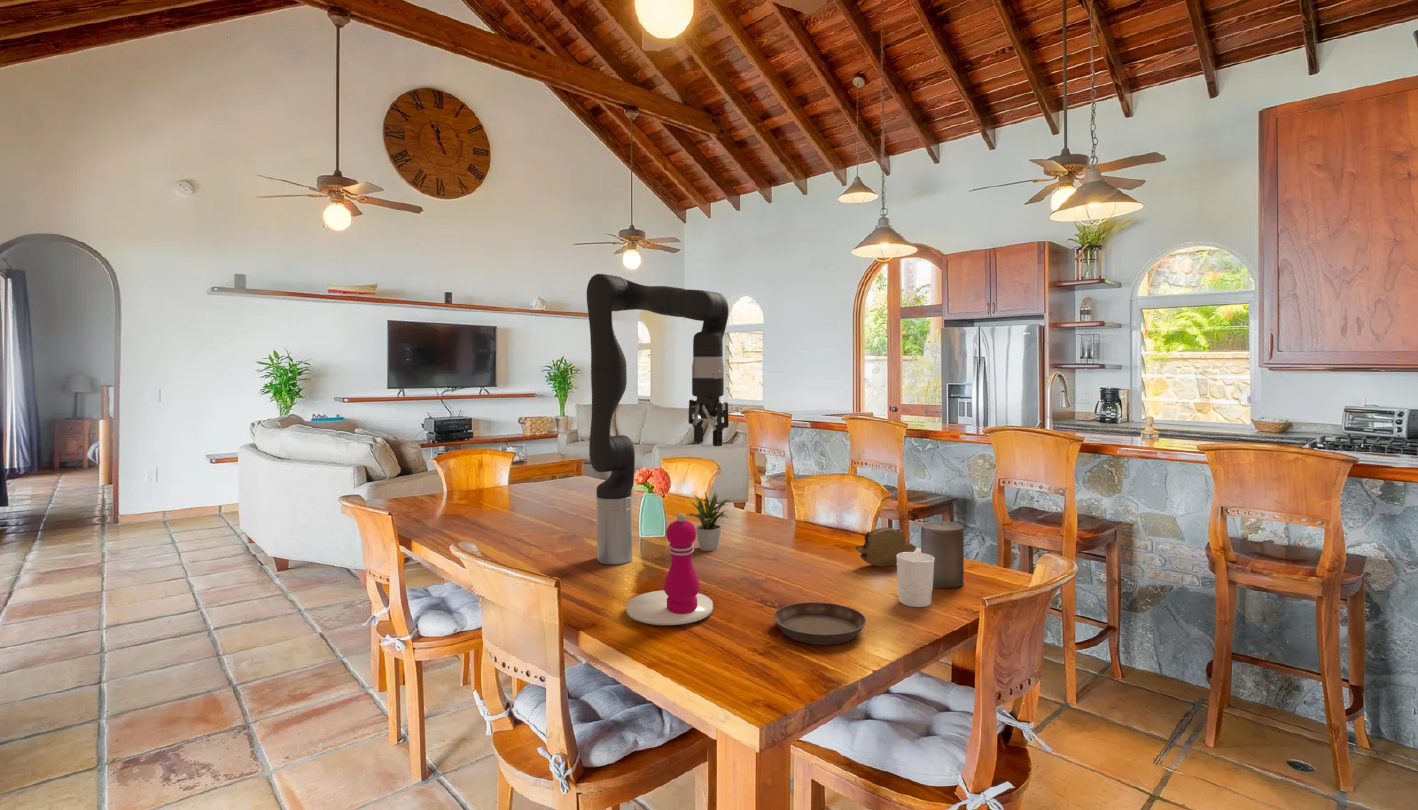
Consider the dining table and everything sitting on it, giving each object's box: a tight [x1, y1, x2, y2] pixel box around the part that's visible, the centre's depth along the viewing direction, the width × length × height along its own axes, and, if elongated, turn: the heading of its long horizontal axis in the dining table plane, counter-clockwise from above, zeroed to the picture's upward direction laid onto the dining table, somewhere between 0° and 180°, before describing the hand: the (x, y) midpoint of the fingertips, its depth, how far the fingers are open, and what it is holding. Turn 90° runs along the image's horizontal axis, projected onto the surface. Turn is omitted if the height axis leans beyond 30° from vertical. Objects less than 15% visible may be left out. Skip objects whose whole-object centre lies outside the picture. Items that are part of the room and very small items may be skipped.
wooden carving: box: [855, 527, 917, 568], centre depth 173 cm, size 16×5×10 cm, turn 108°
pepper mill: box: [663, 513, 701, 614], centre depth 135 cm, size 7×7×20 cm
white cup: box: [896, 551, 935, 608], centre depth 145 cm, size 8×8×10 cm
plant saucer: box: [773, 601, 867, 646], centre depth 130 cm, size 18×18×3 cm
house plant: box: [687, 490, 734, 552], centre depth 188 cm, size 14×14×16 cm
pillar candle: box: [920, 519, 965, 589], centre depth 158 cm, size 10×10×15 cm
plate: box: [625, 589, 714, 626], centre depth 140 cm, size 18×18×2 cm
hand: (707, 444), depth 160 cm, fingers open, 8 cm apart
